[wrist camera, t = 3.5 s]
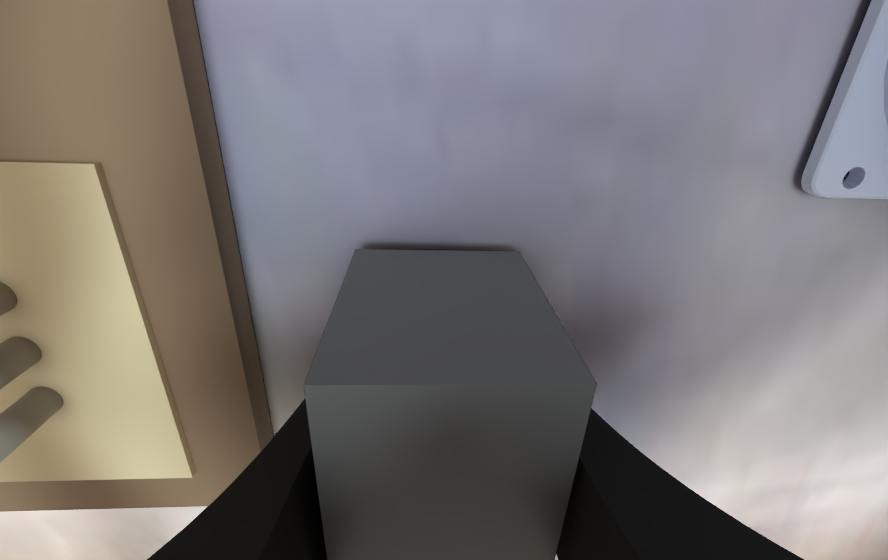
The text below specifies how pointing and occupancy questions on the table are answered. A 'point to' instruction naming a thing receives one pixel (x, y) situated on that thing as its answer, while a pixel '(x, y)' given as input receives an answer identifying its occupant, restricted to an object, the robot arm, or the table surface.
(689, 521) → the robot arm
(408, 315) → the block
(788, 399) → the table surface
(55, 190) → the pin board
